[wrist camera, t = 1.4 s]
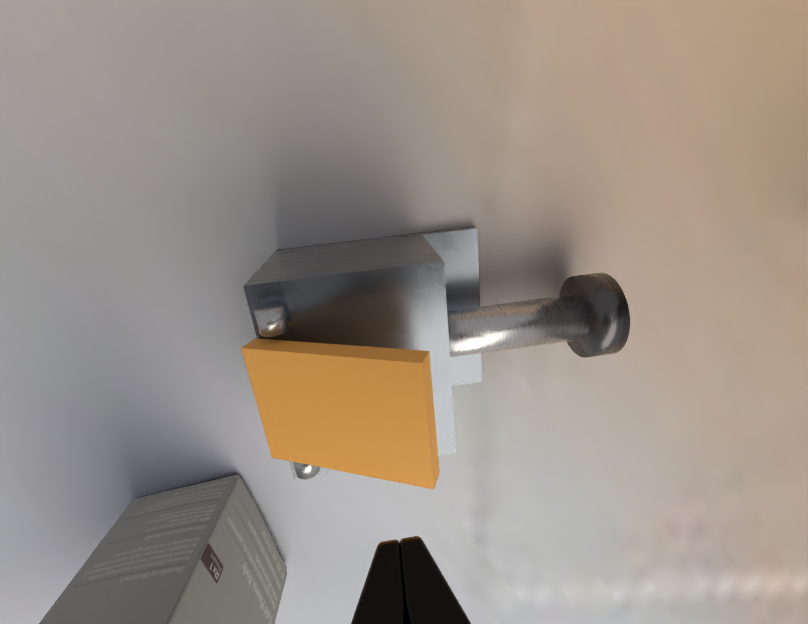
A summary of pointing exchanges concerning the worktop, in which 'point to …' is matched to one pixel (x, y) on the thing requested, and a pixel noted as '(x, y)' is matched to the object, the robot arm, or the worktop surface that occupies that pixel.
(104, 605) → the skincare box
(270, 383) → the plate
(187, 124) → the worktop surface
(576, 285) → the pin
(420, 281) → the bracket
